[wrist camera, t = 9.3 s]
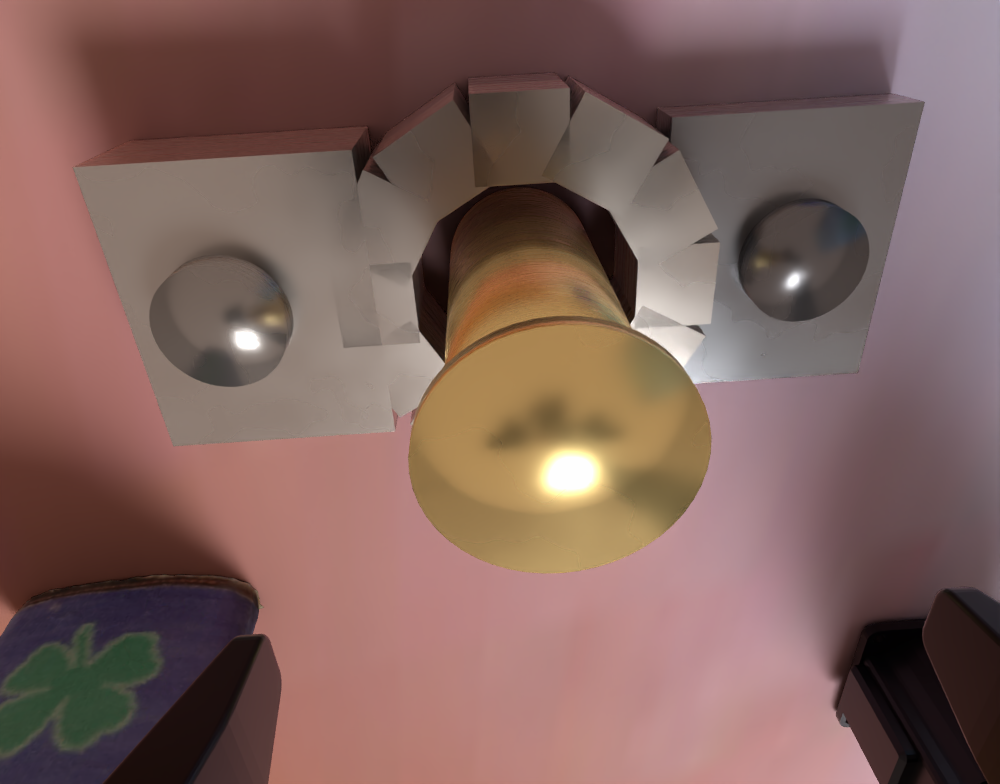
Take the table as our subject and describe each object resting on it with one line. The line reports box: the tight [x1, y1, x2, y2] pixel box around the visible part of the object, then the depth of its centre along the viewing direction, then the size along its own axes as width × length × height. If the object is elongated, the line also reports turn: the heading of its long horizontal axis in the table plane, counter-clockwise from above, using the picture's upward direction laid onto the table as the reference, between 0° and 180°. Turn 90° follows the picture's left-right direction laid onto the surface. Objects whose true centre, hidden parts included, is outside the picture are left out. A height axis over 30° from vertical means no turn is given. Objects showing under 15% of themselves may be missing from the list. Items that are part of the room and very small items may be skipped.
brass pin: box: [408, 188, 711, 573], centre depth 16 cm, size 5×5×10 cm
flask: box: [0, 574, 264, 784], centre depth 22 cm, size 9×3×11 cm, turn 93°
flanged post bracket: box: [73, 73, 925, 446], centre depth 18 cm, size 20×10×4 cm, turn 93°
